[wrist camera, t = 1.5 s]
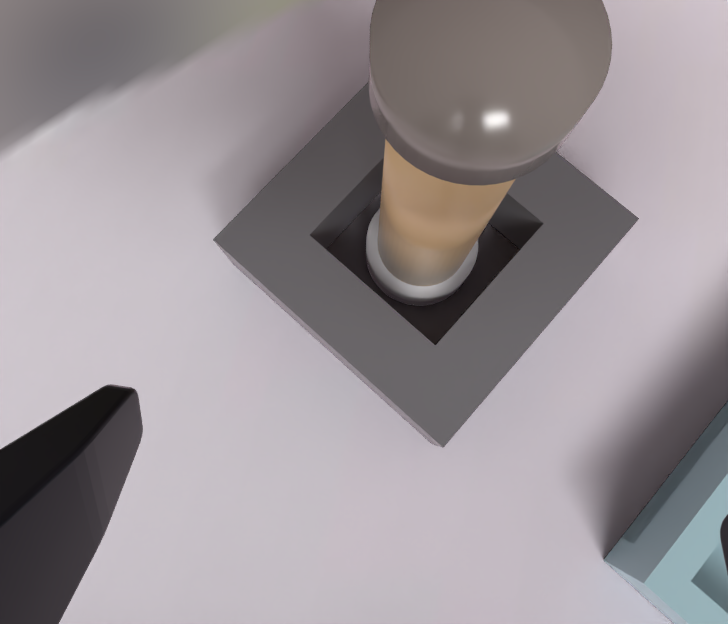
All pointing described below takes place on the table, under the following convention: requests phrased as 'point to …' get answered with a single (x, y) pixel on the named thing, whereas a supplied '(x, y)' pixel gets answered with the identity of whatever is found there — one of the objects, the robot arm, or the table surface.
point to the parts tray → (683, 536)
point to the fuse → (468, 122)
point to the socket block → (376, 317)
